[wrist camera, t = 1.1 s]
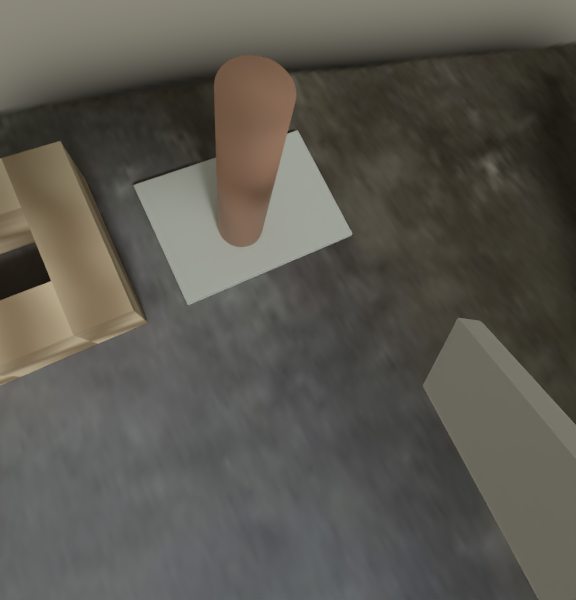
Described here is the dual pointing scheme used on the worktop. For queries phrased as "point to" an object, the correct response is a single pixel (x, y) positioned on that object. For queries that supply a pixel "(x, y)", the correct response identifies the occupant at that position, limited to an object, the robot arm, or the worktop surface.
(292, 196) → the mat
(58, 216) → the hole block
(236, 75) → the peg
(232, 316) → the worktop surface
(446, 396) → the robot arm
